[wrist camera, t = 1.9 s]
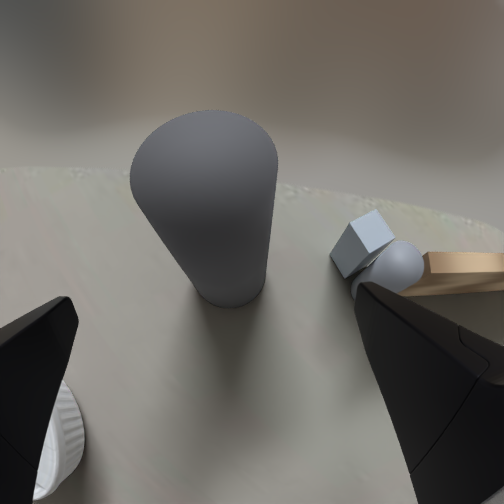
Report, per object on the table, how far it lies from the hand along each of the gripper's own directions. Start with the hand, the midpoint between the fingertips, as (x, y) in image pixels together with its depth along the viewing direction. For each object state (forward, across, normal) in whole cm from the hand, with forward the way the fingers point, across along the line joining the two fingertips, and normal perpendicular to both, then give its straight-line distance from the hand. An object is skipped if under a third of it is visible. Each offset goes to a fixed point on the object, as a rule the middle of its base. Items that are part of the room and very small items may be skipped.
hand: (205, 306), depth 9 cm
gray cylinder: (+11, 0, +5) cm, 12 cm away
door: (+9, -18, +6) cm, 21 cm away
